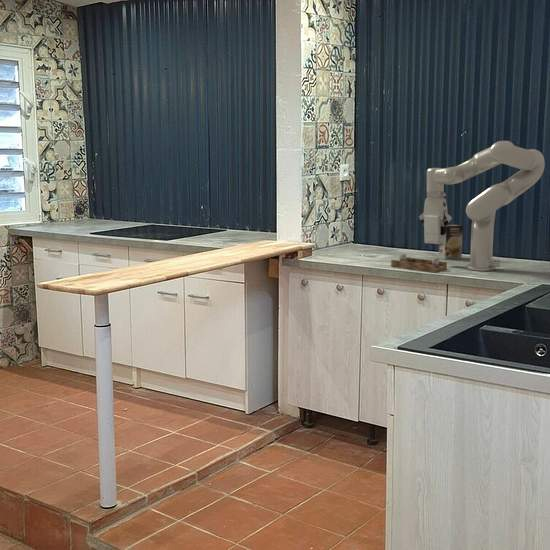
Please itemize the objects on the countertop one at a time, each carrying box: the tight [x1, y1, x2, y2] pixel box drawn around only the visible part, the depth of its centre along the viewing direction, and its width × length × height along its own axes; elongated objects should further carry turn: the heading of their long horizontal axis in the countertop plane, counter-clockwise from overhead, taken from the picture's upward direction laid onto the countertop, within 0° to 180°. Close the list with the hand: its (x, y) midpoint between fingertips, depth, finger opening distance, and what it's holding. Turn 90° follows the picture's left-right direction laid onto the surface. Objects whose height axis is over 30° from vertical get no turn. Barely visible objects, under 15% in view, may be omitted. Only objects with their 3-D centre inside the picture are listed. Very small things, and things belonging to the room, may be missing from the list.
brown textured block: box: [390, 253, 448, 273], centre depth 352 cm, size 22×11×5 cm, turn 48°
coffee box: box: [438, 224, 464, 260], centre depth 377 cm, size 9×6×16 cm
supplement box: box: [423, 216, 447, 245], centre depth 358 cm, size 7×7×13 cm
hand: (435, 234), depth 358 cm, fingers closed on supplement box, 7 cm apart
